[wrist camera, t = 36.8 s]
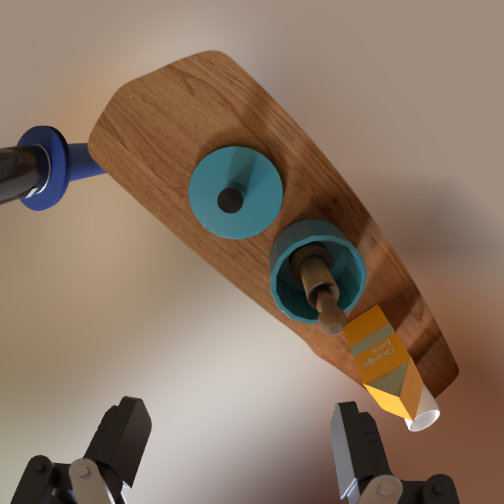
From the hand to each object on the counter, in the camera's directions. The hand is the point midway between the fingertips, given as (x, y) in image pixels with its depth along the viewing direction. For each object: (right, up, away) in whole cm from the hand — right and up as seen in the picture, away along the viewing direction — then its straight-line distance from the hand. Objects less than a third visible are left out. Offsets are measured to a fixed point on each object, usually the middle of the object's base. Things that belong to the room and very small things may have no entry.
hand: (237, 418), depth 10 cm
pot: (+10, +6, +34) cm, 36 cm away
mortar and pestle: (+9, +5, +34) cm, 35 cm away
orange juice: (+22, -8, +38) cm, 45 cm away
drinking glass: (+33, -19, +42) cm, 56 cm away
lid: (-2, +15, +30) cm, 34 cm away
